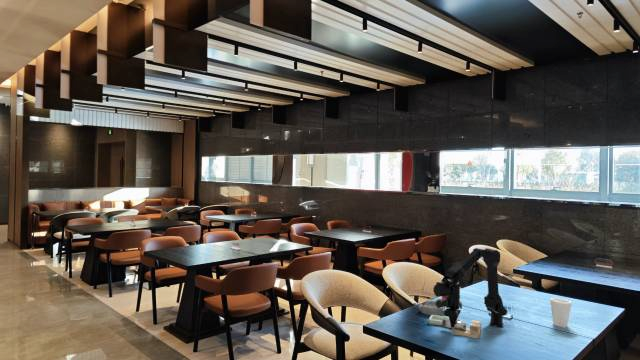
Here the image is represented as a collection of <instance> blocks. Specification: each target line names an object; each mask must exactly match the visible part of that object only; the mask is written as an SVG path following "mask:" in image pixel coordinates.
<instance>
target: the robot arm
mask: <svg viewBox="0 0 640 360" xmlns="http://www.w3.org/2000/svg"><path fill="white" fill-rule="evenodd" d="M481 258H482V260H483V262H484V264H485V266H486V274H487V275H486V277H487V295H485V296H484V297H483V300H484V302H483V303H484V305H485V308H486V310H487V311H488V312H490V321H489V326H493V327H499V328H504V320H503V319H504V316H507V313H508V310H507V308H505V306H504V303H503V299H502V297H501V296H500V294H499V278H498V266H499V264H500V262H501V252H500V251H499V250H497V249H492V248H488V247H486V248H484V249H482V248H478V247H476V248H475V247H474V248H473V250H472V251H471V252H470V253H469V254H468V255H467V256H466V257H465V258H463V259H462V260H461V261H460V262H459V263H458V264H456V265H453V266H451V267H450V268H449V267H448V269H447V270H446V272H445V275H444V276H443V278H442V279H441V282H440V281H437V282H435V284H434V285H433V293H434V295H435V296H436V297H437V298H439V297H442V296H447V297H446V298H443V299H442V298H439V299H437V300H435V301H436V306H437V308H440V307H445V311H444V315H443V316H444V317H449V320H450V324H451V327H454V325H455V323H456V321H457V319H459V315H460V314H461V311H462V310H461V309H463V303H462V302H461V292H460V291H461V287H463V286H464V283H463V282H462V281H463V279H464V278H465V276H466V273H467V271H468V270H469V269H470V268H471V267H473V265H476V263H477V262H478V261H479V260H480V259H481Z"/></svg>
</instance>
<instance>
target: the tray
mask: <svg viewBox="0 0 640 360" xmlns="http://www.w3.org/2000/svg"><path fill="white" fill-rule="evenodd" d="M443 319H444V320H449V317H448V316H444V315H441V316H437V315H429V318H428V324H429V325H435V326H439V327H443V326H442V321H443ZM456 322H463V319H460V318H457V321H456Z"/></svg>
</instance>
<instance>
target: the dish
mask: <svg viewBox="0 0 640 360" xmlns="http://www.w3.org/2000/svg"><path fill="white" fill-rule="evenodd" d="M418 309H419V310H420V313H421V314H424V315H427V316H431V315H437V316H444V311H445V310H446V306H445V307H440V308H437V306H436V300H427V301H426V302H425V304H424V305H423V304H422V303H420V304H419V305H418Z"/></svg>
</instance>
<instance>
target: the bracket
mask: <svg viewBox="0 0 640 360" xmlns="http://www.w3.org/2000/svg"><path fill="white" fill-rule="evenodd" d="M469 326H470V327H466V330H461V329H455V328H451V335H457V336H461V337H468V338H473V339H477V340H478V339H479V340H480V338H481V335H482V321H481V320H477V319H476V320H475V319H471V322H470V325H469Z"/></svg>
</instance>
